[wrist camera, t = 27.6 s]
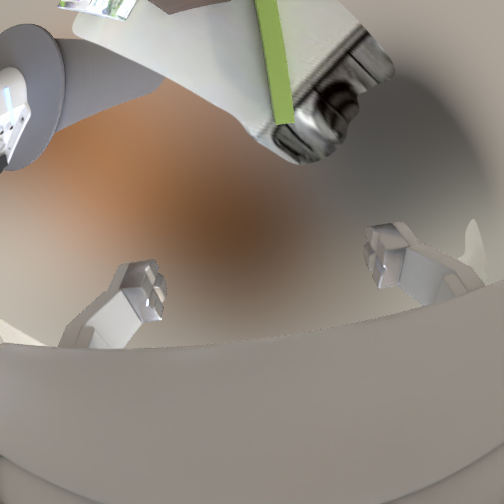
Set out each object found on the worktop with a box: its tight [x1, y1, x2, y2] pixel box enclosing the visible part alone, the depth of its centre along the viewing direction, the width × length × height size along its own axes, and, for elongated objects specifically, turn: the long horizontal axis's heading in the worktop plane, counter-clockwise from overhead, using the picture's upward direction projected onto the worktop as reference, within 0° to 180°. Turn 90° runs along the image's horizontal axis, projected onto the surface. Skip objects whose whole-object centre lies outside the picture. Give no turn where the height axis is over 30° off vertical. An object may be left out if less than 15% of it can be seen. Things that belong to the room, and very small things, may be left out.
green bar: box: [254, 0, 295, 125], centre depth 34 cm, size 24×3×3 cm, turn 9°
